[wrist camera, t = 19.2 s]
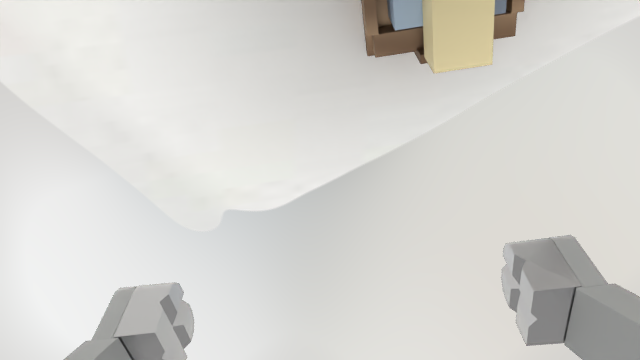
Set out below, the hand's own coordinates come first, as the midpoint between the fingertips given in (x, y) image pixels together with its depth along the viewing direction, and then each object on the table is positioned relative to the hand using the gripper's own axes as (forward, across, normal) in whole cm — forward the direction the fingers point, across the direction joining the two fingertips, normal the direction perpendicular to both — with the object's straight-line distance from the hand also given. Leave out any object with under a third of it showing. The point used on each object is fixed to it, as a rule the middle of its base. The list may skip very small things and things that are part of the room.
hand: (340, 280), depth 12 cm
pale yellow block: (+26, -9, 0) cm, 28 cm away
